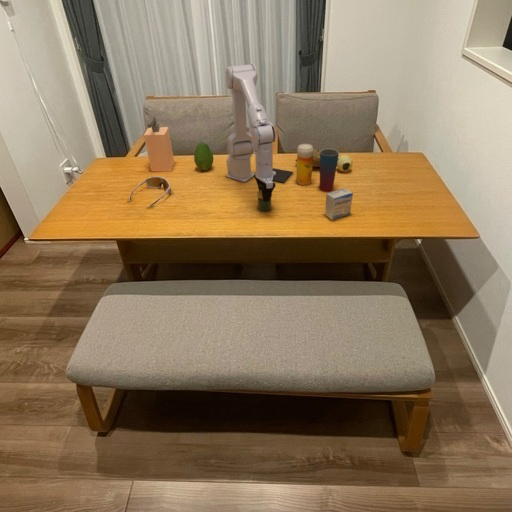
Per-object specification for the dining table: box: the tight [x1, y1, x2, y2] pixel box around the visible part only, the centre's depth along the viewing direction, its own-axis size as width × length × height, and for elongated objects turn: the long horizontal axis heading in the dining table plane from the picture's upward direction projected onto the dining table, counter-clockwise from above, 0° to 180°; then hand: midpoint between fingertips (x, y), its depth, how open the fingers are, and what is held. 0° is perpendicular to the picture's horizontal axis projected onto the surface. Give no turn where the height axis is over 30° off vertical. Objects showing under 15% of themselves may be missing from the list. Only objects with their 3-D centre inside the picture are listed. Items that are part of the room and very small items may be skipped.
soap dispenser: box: [143, 115, 175, 173], centre depth 161 cm, size 13×9×22 cm
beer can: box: [295, 143, 315, 186], centre depth 150 cm, size 6×6×15 cm
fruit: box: [193, 142, 214, 171], centre depth 163 cm, size 8×8×12 cm
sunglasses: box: [128, 175, 172, 208], centre depth 149 cm, size 14×15×5 cm
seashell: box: [295, 148, 322, 168], centre depth 163 cm, size 11×14×10 cm
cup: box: [319, 147, 340, 193], centre depth 146 cm, size 7×7×15 cm
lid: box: [256, 189, 273, 199], centre depth 136 cm, size 5×5×1 cm
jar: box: [257, 197, 272, 213], centre depth 138 cm, size 5×5×6 cm
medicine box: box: [324, 188, 354, 221], centre depth 133 cm, size 8×4×9 cm, turn 117°
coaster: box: [272, 167, 294, 184], centre depth 160 cm, size 10×10×1 cm
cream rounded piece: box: [336, 154, 354, 172], centre depth 160 cm, size 6×7×7 cm
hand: (264, 197), depth 137 cm, fingers closed on lid, 5 cm apart
